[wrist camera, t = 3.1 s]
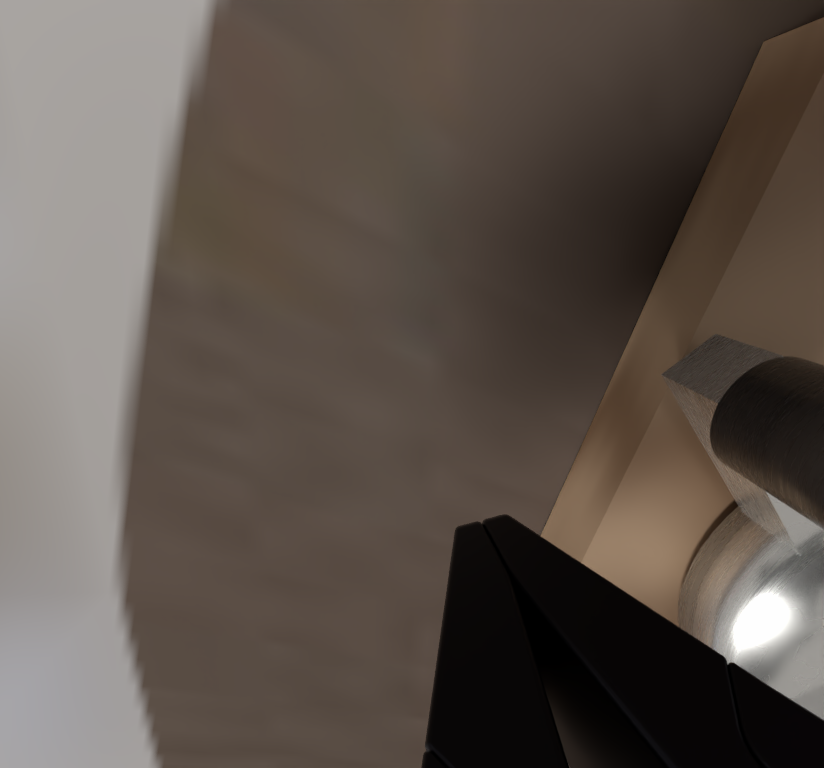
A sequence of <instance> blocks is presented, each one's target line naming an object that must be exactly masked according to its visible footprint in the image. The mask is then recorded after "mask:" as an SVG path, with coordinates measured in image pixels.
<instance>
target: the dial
mask: <svg viewBox="0 0 824 768" xmlns="http://www.w3.org/2000/svg"><path fill="white" fill-rule="evenodd" d="M661 375H662V377H663V379H664V381H665V382H666V384H667V386H668V387H669V389H670V391H671V392H672V394H673V396H674V397H675V399H676V401H677V403H678V404H679V406H680V408H681V409H682V411H683V413H684V414H685V416H686V418H687V419H688V421H689V423H690V425H691V426H692V428H693V430H694V431H695V433H696V435H697V436H698V438H699V440H700V441H701V443H702V445H703V446H704V448H705V450H706V452H707V453H708V455H709V457H710V458H711V460H712V462H713V463H714V465H715V467H716V468H717V470H718V472H719V474H720V475H721V477H722V479H723V480H724V482H725V484H726V485H727V487H728V489H729V490H730V492H731V494H732V496H733V497H734V499H735V501H736V502H737V504H738V507H737V508H736V509H735V510H734V511H733V512H732V513H731V514H729V515H728V516H727V517H726V518H725V519H724V520H723V521H722V523H721V524H720V525H719V526H718V527H717V528H716V529H715V530H714V531H713V532H712V534H711V535H710V536H709V538H708V539H707V540H706V542H705V543H704V544H703V546H702V547H701V548H700V550H699V552H698V553H697V555H696V557H695V558H694V560H693V562H692V563H691V566H690V568H689V570H688V572H687V574H686V576H685V579H684V582H683V585H682V588H681V591H680V596H679V602H678V624H679V627H680V628H681V629H683V630H684V631H686V632H688V633H689V634H691V635H692V636H694V637H695V638H697V639H698V640H700V641H701V642H703V643H704V644H706V645H707V646H709V647H710V648H712V649H713V650H715V651H717V652H718V653H720V654H721V655H723V656H724V657H725V658H726V660H727V664H729V663H730V662H733V663H735V664H737V665H738V666H740V667H741V668H743V669H744V670H746V671H748V672H749V673H751V674H752V675H754V676H755V677H757V678H758V679H760V680H761V681H763V682H764V683H766V684H767V685H769V686H770V687H772V688H774V689H775V690H777V691H778V692H780V693H782V694H783V695H785V696H786V697H788V698H790V699H791V700H793V701H794V702H796V703H797V704H799V705H801V706H802V707H804V708H805V709H807V710H809V711H810V712H812V713H813V714H815V715H817V716H818V717H820V718H821V719H823V720H824V365H821V364H818V363H815V362H812V361H809V360H806V359H803V358H799V357H793V356H785V357H783V355H779V354H776V353H773V352H770V351H767V350H764V349H761V348H758V347H755V346H752V345H749V344H745V343H742V342H739V341H736V340H733V339H730V338H727V337H724V336H721V335H718V334H715V335H713V336H712V337H711V338H709V339H708V340H707V341H705V342H704V343H703V344H701V345H700V346H699V347H697V348H696V349H695V350H693V351H692V352H691V353H689V354H688V355H687V356H685V357H684V358H683V359H681V360H680V361H679V362H677V363H676V364H675V365H673V366H672V367H671V368H669V369H668V370H667V371H665V372H664V373H662V374H661Z"/></svg>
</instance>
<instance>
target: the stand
mask: <svg viewBox="0 0 824 768" xmlns="http://www.w3.org/2000/svg"><path fill="white" fill-rule="evenodd" d="M715 334H718V335H721V336H724V337H727V338H730V339H733V340H736V341H739V342H742V343H745V344H749V345H752V346H755V347H758V348H761V349H764V350H767V351H770V352H773V353H776V354H779V355H783V357H785V356H793V357H799V358H803V359H806V360H809V361H812V362H815V363H818V364H821V365H824V17H823V18H821V19H818V20H816V21H813V22H811V23H808V24H806V25H803V26H801V27H798V28H796V29H793V30H791V31H789V32H786V33H784V34H781V35H779V36H776V37H774V38H771V39H769V40H766V41H764V42H763V44H762V46H761V49H760V51H759V53H758V55H757V58H756V60H755V62H754V64H753V66H752V69H751V71H750V73H749V75H748V77H747V80H746V82H745V84H744V86H743V89H742V91H741V93H740V95H739V97H738V100H737V102H736V104H735V106H734V109H733V111H732V113H731V115H730V117H729V120H728V122H727V124H726V126H725V128H724V131H723V133H722V135H721V137H720V140H719V142H718V144H717V146H716V148H715V151H714V153H713V155H712V157H711V159H710V162H709V164H708V166H707V168H706V171H705V173H704V175H703V177H702V179H701V182H700V184H699V186H698V188H697V191H696V193H695V195H694V197H693V199H692V202H691V204H690V206H689V208H688V210H687V213H686V215H685V217H684V219H683V222H682V224H681V226H680V228H679V230H678V233H677V235H676V237H675V239H674V242H673V244H672V246H671V248H670V250H669V253H668V255H667V257H666V259H665V261H664V264H663V266H662V268H661V270H660V273H659V275H658V277H657V279H656V281H655V284H654V286H653V288H652V290H651V292H650V295H649V297H648V299H647V301H646V304H645V306H644V308H643V310H642V312H641V315H640V317H639V319H638V321H637V324H636V326H635V328H634V330H633V332H632V335H631V337H630V339H629V341H628V343H627V346H626V348H625V350H624V352H623V355H622V357H621V359H620V361H619V363H618V366H617V368H616V370H615V372H614V375H613V377H612V379H611V381H610V383H609V386H608V388H607V390H606V392H605V394H604V397H603V399H602V401H601V403H600V406H599V408H598V410H597V412H596V414H595V417H594V419H593V421H592V423H591V425H590V428H589V430H588V432H587V434H586V437H585V439H584V441H583V443H582V445H581V448H580V450H579V452H578V454H577V457H576V459H575V461H574V463H573V465H572V468H571V470H570V472H569V474H568V476H567V479H566V481H565V483H564V485H563V488H562V490H561V492H560V494H559V496H558V499H557V501H556V503H555V505H554V508H553V510H552V512H551V514H550V516H549V519H548V521H547V523H546V525H545V527H544V530H543V532H542V534H541V537H543V538H544V539H546V540H547V541H549V542H550V543H552V544H553V545H555V546H556V547H558V548H559V549H561V550H562V551H564V552H565V553H567V554H569V555H570V556H572V557H573V558H575V559H576V560H578V561H579V562H581V563H582V564H584V565H585V566H587V567H588V568H590V569H591V570H593V571H594V572H596V573H598V574H599V575H601V576H602V577H604V578H605V579H607V580H608V581H610V582H611V583H613V584H614V585H616V586H617V587H619V588H620V589H622V590H623V591H625V592H626V593H628V594H630V595H631V596H633V597H634V598H636V599H637V600H639V601H640V602H642V603H643V604H645V605H646V606H648V607H649V608H651V609H652V610H654V611H655V612H657V613H659V614H660V615H662V616H663V617H665V618H666V619H668V620H669V621H671V622H672V623H674V624H675V625H677V626H678V627H679V624H678V602H679V596H680V591H681V588H682V585H683V582H684V579H685V576H686V574H687V572H688V570H689V568H690V566H691V563H692V562H693V560H694V558H695V557H696V555H697V553H698V552H699V550H700V548H701V547H702V546H703V544H704V543H705V542H706V540H707V539H708V538H709V536H710V535H711V534H712V532H713V531H714V530H715V529H716V528H717V527H718V526H719V525H720V524H721V523H722V521H723V520H724V519H725V518H726V517H727V516H728V515H729V514H731V513H732V512H733V511H734V510H735V509H736V508H737V507H738V504H737V502H736V501H735V499H734V497H733V496H732V494H731V492H730V490H729V489H728V487H727V485H726V484H725V482H724V480H723V479H722V477H721V475H720V474H719V472H718V470H717V468H716V467H715V465H714V463H713V462H712V460H711V458H710V457H709V455H708V453H707V452H706V450H705V448H704V446H703V445H702V443H701V441H700V440H699V438H698V436H697V435H696V433H695V431H694V430H693V428H692V426H691V425H690V423H689V421H688V419H687V418H686V416H685V414H684V413H683V411H682V409H681V408H680V406H679V404H678V403H677V401H676V399H675V397H674V396H673V394H672V392H671V391H670V389H669V387H668V386H667V384H666V382H665V381H664V379H663V377H662V375H661V374H662V373H664V372H665V371H667V370H668V369H669V368H671V367H672V366H673V365H675V364H676V363H677V362H679V361H680V360H681V359H683V358H684V357H685V356H687V355H688V354H689V353H691V352H692V351H693V350H695V349H696V348H697V347H699V346H700V345H701V344H703V343H704V342H705V341H707V340H708V339H709V338H711V337H712V336H713V335H715Z"/></svg>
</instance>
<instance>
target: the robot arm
mask: <svg viewBox="0 0 824 768" xmlns="http://www.w3.org/2000/svg"><path fill="white" fill-rule="evenodd" d="M425 748H426V752H425V753H424V755H423V761H422V768H569V765H570V768H824V720H823V719H821V718H820V717H818V716H817V715H815V714H813V713H812V712H810V711H809V710H807V709H805V708H804V707H802V706H801V705H799V704H797V703H796V702H794V701H793V700H791V699H790V698H788V697H786V696H785V695H783V694H782V693H780V692H778V691H777V690H775V689H774V688H772V687H770V686H769V685H767V684H766V683H764V682H763V681H761V680H760V679H758V678H757V677H755V676H754V675H752V674H751V673H749V672H748V671H746V670H744V669H743V668H741V667H740V666H738V665H737V664H735V663H733V662H730V663H729V664H727V660H726V658H725V657H724V656H723V655H721V654H720V653H718V652H717V651H715V650H713V649H712V648H710V647H709V646H707V645H706V644H704V643H703V642H701V641H700V640H698V639H697V638H695V637H694V636H692V635H691V634H689V633H688V632H686V631H684V630H683V629H681V628H680V627H678V626H677V625H675V624H674V623H672V622H671V621H669V620H668V619H666V618H665V617H663V616H662V615H660V614H659V613H657V612H655V611H654V610H652V609H651V608H649V607H648V606H646V605H645V604H643V603H642V602H640V601H639V600H637V599H636V598H634V597H633V596H631V595H630V594H628V593H626V592H625V591H623V590H622V589H620V588H619V587H617V586H616V585H614V584H613V583H611V582H610V581H608V580H607V579H605V578H604V577H602V576H601V575H599V574H598V573H596V572H594V571H593V570H591V569H590V568H588V567H587V566H585V565H584V564H582V563H581V562H579V561H578V560H576V559H575V558H573V557H572V556H570V555H569V554H567V553H565V552H564V551H562V550H561V549H559V548H558V547H556V546H555V545H553V544H552V543H550V542H549V541H547V540H546V539H544V538H543V537H541V536H540V535H538V534H536V533H535V532H533V531H532V530H530V529H529V528H527V527H526V526H524V525H523V524H521V523H520V522H518V521H517V520H515V519H514V518H512V517H511V516H509V515H500V516H496V517H492V518H488V519H485V520H484V521H483V522H482V524H481V523H480V522H473V523H469V524H465V525H461V526H458V527H457V528H456V530H455V534H454V542H453V549H452V556H451V563H450V570H449V577H448V585H447V592H446V599H445V606H444V613H443V620H442V628H441V635H440V642H439V649H438V656H437V663H436V671H435V678H434V685H433V692H432V699H431V707H430V714H429V721H428V728H427V735H426V742H425ZM567 761H568V762H567ZM568 763H569V765H568Z"/></svg>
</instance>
